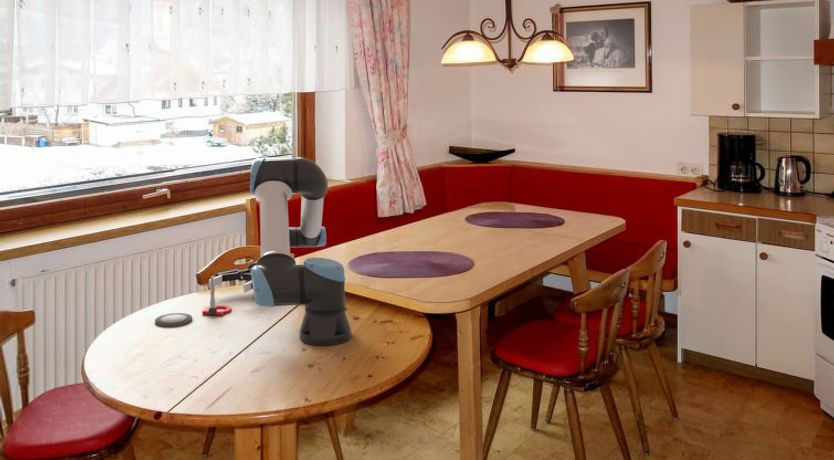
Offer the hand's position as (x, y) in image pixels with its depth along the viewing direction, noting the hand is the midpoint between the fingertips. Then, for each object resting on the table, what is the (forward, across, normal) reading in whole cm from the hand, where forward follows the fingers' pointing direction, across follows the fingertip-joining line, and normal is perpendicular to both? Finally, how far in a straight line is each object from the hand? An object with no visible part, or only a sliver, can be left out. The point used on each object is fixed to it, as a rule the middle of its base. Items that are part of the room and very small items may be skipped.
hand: (226, 286), depth 245 cm
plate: (+19, +6, -7) cm, 21 cm away
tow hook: (+6, 0, -7) cm, 9 cm away
